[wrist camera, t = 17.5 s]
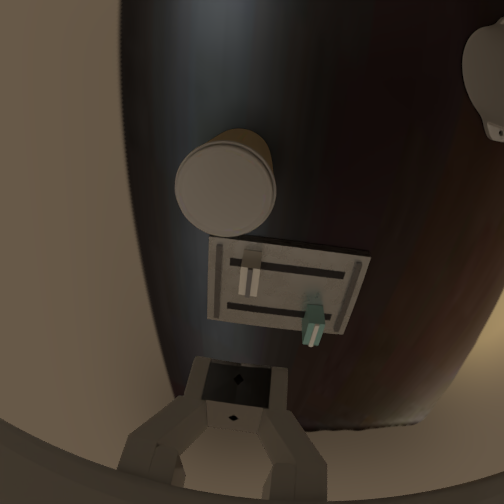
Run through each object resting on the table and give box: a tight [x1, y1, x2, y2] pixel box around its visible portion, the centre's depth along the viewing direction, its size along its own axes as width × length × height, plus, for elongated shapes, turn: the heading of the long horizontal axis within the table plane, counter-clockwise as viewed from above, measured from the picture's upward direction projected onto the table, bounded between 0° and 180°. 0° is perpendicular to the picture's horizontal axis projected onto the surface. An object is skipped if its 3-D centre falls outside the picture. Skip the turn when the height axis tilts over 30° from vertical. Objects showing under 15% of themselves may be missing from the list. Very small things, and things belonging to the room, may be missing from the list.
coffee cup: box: [175, 128, 276, 237], centre depth 34 cm, size 9×9×12 cm
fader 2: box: [302, 304, 325, 347], centre depth 47 cm, size 2×4×4 cm, turn 174°
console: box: [207, 234, 371, 334], centre depth 47 cm, size 22×15×2 cm
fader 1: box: [238, 250, 262, 298], centre depth 43 cm, size 2×4×4 cm, turn 174°
